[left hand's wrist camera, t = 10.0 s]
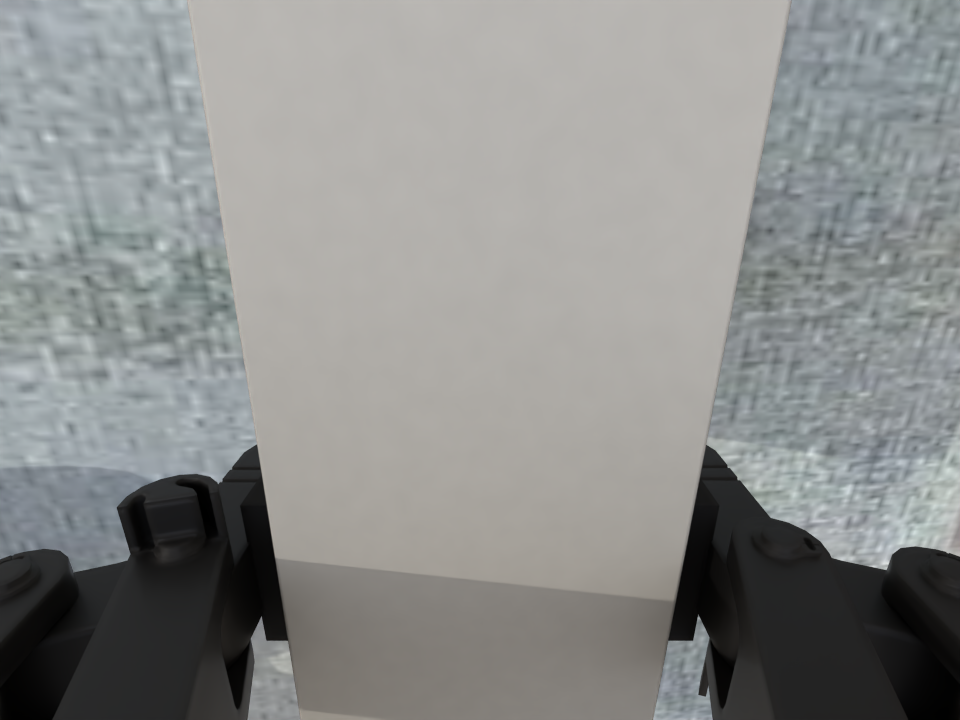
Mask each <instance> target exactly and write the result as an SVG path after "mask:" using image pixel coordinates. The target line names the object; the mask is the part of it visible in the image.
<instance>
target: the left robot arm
mask: <svg viewBox="0 0 960 720" xmlns="http://www.w3.org/2000/svg"><path fill="white" fill-rule="evenodd" d="M117 510H118V513H119V517H120V520H121V523H122V527H123V530H124V533H125V537H126V540H127V543H128V547H129V550H130V553H131V555H130V557H129V559H128V561H124V562H121V563H117V564H112V565H107V566H103V567H98V568H93V569H89V570H84V571H79V572H74V573H73V570H72V567H71V564H70V561H69V559H68V557H67V556H66V555H65V554H63V553H62V552H61V551H58V550H49V549H41V550H34V551H27V552H22V553H18V554H14V555H13V556H8V557H6V558H3V559H0V720H247V718H248V710H249V702H250V694H251V686H252V678H253V669H254V654H253V648H252V643H251V637H252V635H253V633H254V631H255V628H256V626H257V624H258V622H259V620H260V618H261V616H262V620H263V625H264V630H265V635H266V640H267V641H288V636H287V630H286V623H285V617H284V611H283V604H282V598H281V592H280V585H279V579H278V573H277V566H276V560H275V554H274V547H273V541H272V535H271V529H270V522H269V516H268V510H267V503H266V497H265V491H264V484H263V478H262V472H261V465H260V459H259V453H258V446H257V445H255V446H254V447H252V448H251V449H249V450H247V451H246V452H244V453H243V455H242V456H241V457H240V458H239V460H238V461H237V462H236V463H235V465H234V466H233V467H232V470H230V471H229V472H228V473H227V474H226V476H225V477H224V478H223V481H222V482H220V483H219V484H218V483H217V482H216V481H214V480H213V479H212V478H211V477H208V476H203V475H198V474H190V475H177V476H173V477H169V478H164V479H160V480H158V481H155V482H153V483H150V484H148V485H145V486H143V487H141V488H140V489H138V490H136V491H135V492H133V493H132V494H130V495H128V496H127V497H126V498H125V499H124V500H123V501H122V502H121V503H120V505H119V506H118V507H117ZM698 614H699V616H700V618H701V621H702V623H703V625H704V627H705V629H706V631H707V633H708V635H709V637H710V638H709V643H708V648H707V652H706V657H705V662H704V667H703V671H702V676H701V681H700V687H699V694H698V695H702V696H706V693H707V689H708V684H709V692H710V701H711V709H712V717H713V720H960V557H959V556H956V555H953V554H951V553H949V554H948V553H946V552H944V551H940V550H936V549H929V548H922V547H907V548H900V549H899V550H898V551H896V552H895V553H894V554H892V557H891V560H890V563H889V565H888V568H887V570H883V569H878V568H873V567H868V566H864V565H859V564H854V563H849V562H845V561H840V560H837V559H833V558H831V556H830V554H829V552H828V551H827V550H826V548H825V547H824V546H823V544H822V543H821V542H820V541H819V540H817V539H816V538H815V537H813V536H812V535H811V534H809V533H808V532H807V531H805V530H803V529H801V528H799V527H796V526H794V525H792V524H790V523H788V522H784V521H780V520H776V519H772V518H770V517H769V515H768V514H767V513H766V512H765V511H764V509H763V508H762V507H761V506H760V504H759V503H758V502H757V501H756V500H755V498H754V497H753V496H752V495H751V493H750V492H749V491H748V490H747V489H746V487H745V486H744V485H743V484H742V482H741V481H740V480H737V476H736V475H735V474H734V473H733V471H732V470H731V469H730V468H728V467H727V464H726V463H725V462H724V460H723V459H722V458H721V457H720V456H719V454H718V453H717V452H716V451H715V450H714V449H712V448H710V447H709V446H707V445H706V448H705V453H704V458H703V463H702V468H701V473H700V479H699V484H698V489H697V494H696V499H695V505H694V510H693V515H692V520H691V525H690V530H689V536H688V541H687V546H686V551H685V556H684V561H683V567H682V572H681V577H680V582H679V587H678V593H677V598H676V603H675V608H674V613H673V618H672V624H671V629H670V634H669V639H668V641H693V638H694V633H695V628H696V623H697V618H698Z"/></svg>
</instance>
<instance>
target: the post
mask: <svg viewBox="0 0 960 720" xmlns="http://www.w3.org/2000/svg"><path fill="white" fill-rule="evenodd" d="M791 2H792V0H187V3H188V9H189V16H190V22H191V28H192V35H193V41H194V47H195V54H196V60H197V66H198V73H199V79H200V85H201V92H202V98H203V104H204V111H205V117H206V123H207V130H208V136H209V142H210V149H211V155H212V161H213V168H214V174H215V180H216V187H217V193H218V199H219V206H220V212H221V218H222V225H223V231H224V237H225V244H226V250H227V256H228V263H229V269H230V275H231V282H232V288H233V294H234V301H235V307H236V313H237V320H238V326H239V332H240V339H241V345H242V351H243V358H244V364H245V370H246V377H247V383H248V389H249V396H250V402H251V408H252V415H253V421H254V427H255V434H256V440H257V446H258V453H259V459H260V465H261V472H262V478H263V484H264V491H265V497H266V503H267V510H268V516H269V522H270V529H271V535H272V541H273V547H274V554H275V560H276V566H277V573H278V579H279V585H280V592H281V598H282V604H283V611H284V617H285V623H286V630H287V636H288V642H289V649H290V655H291V661H292V668H293V674H294V680H295V687H296V693H297V699H298V706H299V712H300V718H301V720H653V717H654V712H655V707H656V701H657V696H658V691H659V686H660V681H661V675H662V670H663V665H664V660H665V655H666V650H667V644H668V639H669V634H670V629H671V624H672V618H673V613H674V608H675V603H676V598H677V593H678V587H679V582H680V577H681V572H682V567H683V561H684V556H685V551H686V546H687V541H688V536H689V530H690V525H691V520H692V515H693V510H694V505H695V499H696V494H697V489H698V484H699V479H700V473H701V468H702V463H703V458H704V453H705V448H706V442H707V437H708V432H709V427H710V422H711V416H712V411H713V406H714V401H715V396H716V391H717V385H718V380H719V375H720V370H721V365H722V359H723V354H724V349H725V344H726V339H727V334H728V328H729V323H730V318H731V313H732V308H733V302H734V297H735V292H736V287H737V282H738V277H739V271H740V266H741V261H742V256H743V251H744V246H745V240H746V235H747V230H748V225H749V220H750V214H751V209H752V204H753V199H754V194H755V189H756V183H757V178H758V173H759V168H760V163H761V157H762V152H763V147H764V142H765V137H766V132H767V126H768V121H769V116H770V111H771V106H772V100H773V95H774V90H775V85H776V80H777V75H778V69H779V64H780V59H781V54H782V49H783V43H784V38H785V33H786V28H787V23H788V18H789V12H790V7H791Z"/></svg>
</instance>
